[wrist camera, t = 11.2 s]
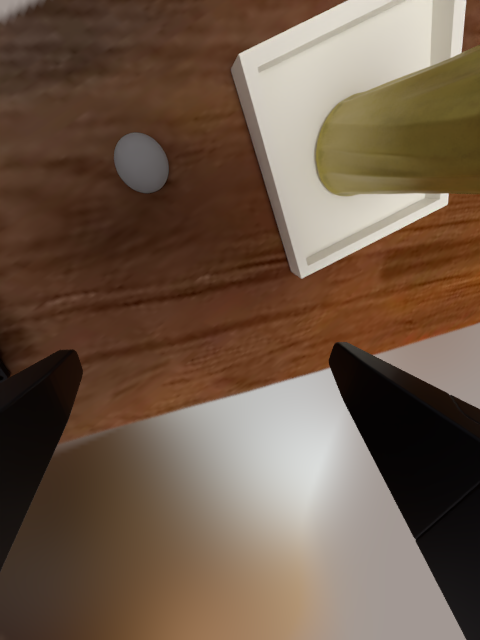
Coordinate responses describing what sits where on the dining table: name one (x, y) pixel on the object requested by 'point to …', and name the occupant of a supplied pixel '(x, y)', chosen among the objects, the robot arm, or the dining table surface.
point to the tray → (316, 104)
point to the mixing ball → (141, 162)
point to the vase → (407, 134)
